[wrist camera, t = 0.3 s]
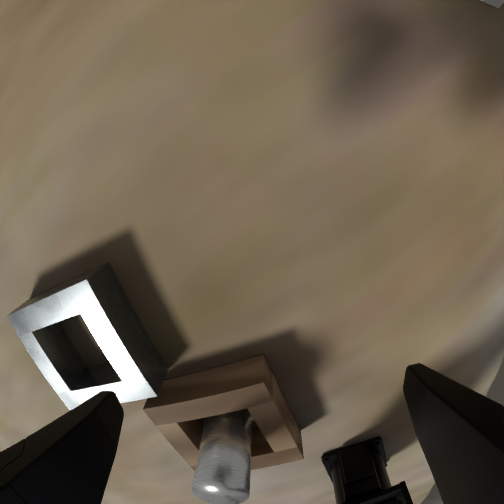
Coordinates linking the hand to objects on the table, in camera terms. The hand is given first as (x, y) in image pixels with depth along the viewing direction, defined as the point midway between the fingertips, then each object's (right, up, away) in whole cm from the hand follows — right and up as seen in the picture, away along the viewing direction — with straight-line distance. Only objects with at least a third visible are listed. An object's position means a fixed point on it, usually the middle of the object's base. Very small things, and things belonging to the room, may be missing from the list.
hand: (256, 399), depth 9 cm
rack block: (-14, -3, +16) cm, 21 cm away
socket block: (-2, -10, +17) cm, 20 cm away
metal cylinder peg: (-2, -10, +18) cm, 20 cm away
